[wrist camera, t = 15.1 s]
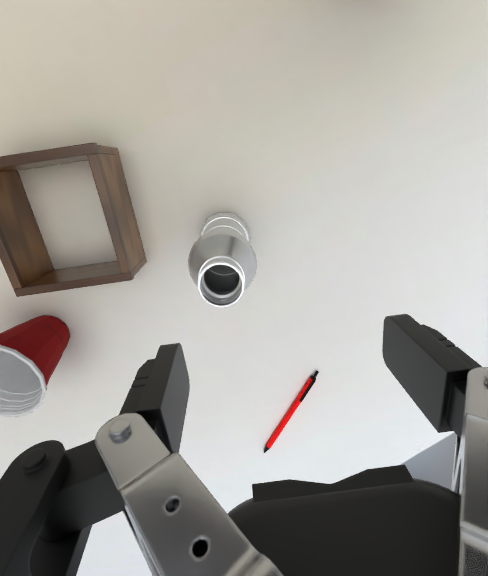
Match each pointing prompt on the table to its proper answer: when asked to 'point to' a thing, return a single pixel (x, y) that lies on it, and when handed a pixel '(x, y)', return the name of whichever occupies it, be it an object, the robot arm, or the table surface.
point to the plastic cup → (29, 363)
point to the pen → (291, 411)
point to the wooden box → (26, 236)
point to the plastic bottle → (222, 260)
